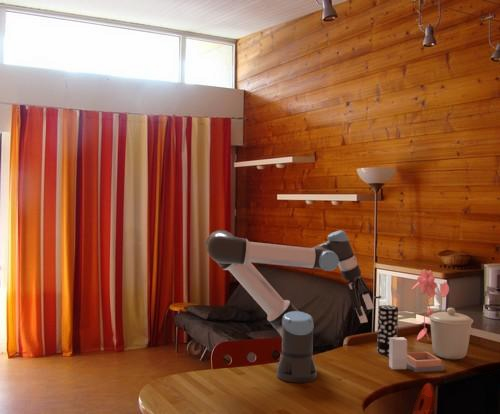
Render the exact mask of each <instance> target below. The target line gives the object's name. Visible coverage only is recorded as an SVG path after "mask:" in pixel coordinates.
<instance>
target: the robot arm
mask: <svg viewBox="0 0 500 414" xmlns="http://www.w3.org/2000/svg"><path fill="white" fill-rule="evenodd" d="M347 235H348V234H347V233H346V231H344V230H342V229H341V230H336V231H333V232H331V233H329V234H328V236H327V241H325V242H322V243H320V244H318V245H315V246H313V247H304V246H303V247H302V246H294V245H293V246H292V245H284V244H275V243H273V244H272V243H265V242H264V243H263V242H255V241H249V240H248V238H243V237H238V236H234V235H233V234H232V233H231V232H229V231H228V230H224V229H218V230H215V231H213V232H212V233H210V234H209V235H208V237H207V239H206V242H205V248H206V251H207V253H208V256H209V257H210V258H211V259H212V260H213V261H214V262H216V264H217V265H218V266H219V267H220V268H221V269H222V270H223V271H228V272H229V273H231V275H233V277H234V278H235V280H237V281H238V282H239V283H240V285H241V287H242V288H244V290H246V292H247V293H248V294H249V295H250V296H251V297H252V299H253V300H254V301H255V302H256V304H257V305H259V306H260V308H261V309H262V310H263V311H264V312H265V313H266V315H267V317H266V319H267V321H268V322H269V323H270V325H272V327H273V328H274V329H275V330H276V331H277V333H278V335H280V337H281V356H280V359H279V362H278V365H277V367H276V377H277V378H278V379H279V380H282V381H285V382H289V383H295V384H297V383H300V384H301V383H310V382H312V381H315V380H316V379H317V376H318V374H317V373H318V372H317V368H316V365H315V361H314V357H313V351H314V350H313V347H314V346H313V344H314V328H315V324H314V318H313V317H312V315H311V314H309V313H306V312H304V311H299V310H298V309H297V308H296V307H295V306H294V304H293V303H292V302H291V301H290V300H289V299H283V297H281V295H280V294H279V292H277V291H276V289H275V288H274V287H273V286H272V285H271V283H269V281H267V279H266V278H265V277H264V276H263V275H262V273H260V271H259V270H258V269H257V268H256V266H254V265H253V263H254V264H266V265H277V266H287V267H295V268H308V269H318V270H323V271H324V272H326V271H327V272H332V271H335V269H336V268H337V267H338V268H339V271H340V273H341V276H342V278H343V280H347V281H348V284H347V285H346V286H347V289H348V293H349V297H350V302H351V306H352V310H355V311H356V314H357V317H358V319H359V322H360V324H363V323H368V317H367V315H366V313H365V310H364V308H363V306H362V304H361V299H360V298H361V297H360V293H361V294H362V299H363V301H364V303H365V306H366V310H373V309H375V307H374V304H373V301H372V298H371V296H370V293H371V290H370V287H369V286H368V285H367V283H366V281H365V279H364V278H363V277H362V272H361V269H360V266H359V265H358V261H357V260H358V258H357V257H356V256H355V253H354V251H353V249H352V246H351V243H350V239H349V237H348V236H347Z"/></svg>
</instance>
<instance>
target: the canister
mask: <svg viewBox="0 0 500 414" xmlns="http://www.w3.org/2000/svg"><path fill="white" fill-rule="evenodd" d="M428 319H429V321H430V334H431V343H432V344H431V346H432V350H433V354H435V356H436V357H438V358H441V359H446V360H462V359H464V358H465V357H466V355H467V353H468V347H469V343H470V336H471V331H472V324H473V323H474V319H472V318H471V317H470V316H468V315H466V314H464V313H463V314H462V313H459V312H456V309H455V308H454V307H447V309H446V311H438V312H433V314H432V315H430V316H429V315H428Z"/></svg>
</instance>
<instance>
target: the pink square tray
mask: <svg viewBox="0 0 500 414" xmlns="http://www.w3.org/2000/svg"><path fill="white" fill-rule="evenodd" d="M407 369H409V370H410V371H412V372H414V373H423V372H441V371H445V366H444V365H443V364H442V358H441V359H440V357H438V356H436V355H433V353H430V352H429V351H418V352H417V351H416V352H414V351H413V352H407Z"/></svg>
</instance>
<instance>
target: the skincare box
mask: <svg viewBox="0 0 500 414" xmlns="http://www.w3.org/2000/svg"><path fill="white" fill-rule="evenodd" d="M407 353H408V339H406V338H405V337H403V336H402V337H401V336H400V337H398V336H397V337H390V341H389V356H388V366H389V368H390V369H391V370H407V369H408V367H407Z"/></svg>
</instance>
